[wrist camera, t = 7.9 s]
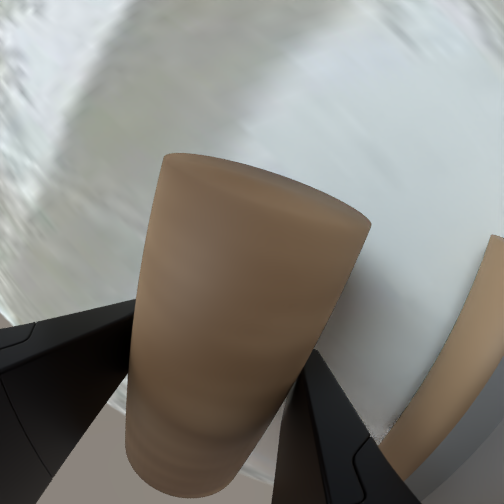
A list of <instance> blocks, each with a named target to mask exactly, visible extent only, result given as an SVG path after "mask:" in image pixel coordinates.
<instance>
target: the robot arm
mask: <svg viewBox="0 0 504 504" xmlns="http://www.w3.org/2000/svg"><path fill="white" fill-rule="evenodd" d="M135 303H136V299H133V300H129V301H125V302H121V303H116V304H112V305H108V306H104V307H99V308H95V309H91V310H86V311H82V312H78V313H73V314H69V315H65V316H60V317H56V318H51V319H47V320H42V321H38V322H37V323H35V322H33V323H29V324H24V325H19V326H14V327H9V328H3V329H0V504H36V502H37V501H38V500H39V498H40V497H41V495H42V494H43V492H44V491H45V489H46V488H47V486H48V485H49V483H50V482H51V480H52V478H53V477H54V476H55V474H56V473H57V471H58V470H59V469H60V467H61V466H62V464H63V463H64V461H65V460H66V459H67V457H68V456H69V454H70V453H71V451H72V450H73V449H74V447H75V446H76V444H77V443H78V442H79V440H80V439H81V437H82V436H83V434H84V433H85V432H86V430H87V429H88V427H89V426H90V425H91V423H92V422H93V420H94V419H95V418H96V416H97V415H98V413H99V412H100V411H101V409H102V408H103V407H104V405H105V404H106V403H107V401H108V400H109V398H110V397H111V396H112V394H113V393H114V392H115V390H116V389H117V387H118V386H119V385H120V383H121V382H122V381H123V379H124V378H125V377H126V375H127V374H128V370H129V358H130V347H131V337H132V328H133V319H134V311H135ZM271 504H422V503H421V502H420V501H419V500H418V498H417V497H416V496H415V495H414V494H413V492H412V491H411V490H410V489H409V487H408V486H407V485H406V484H405V483H404V481H403V480H402V479H401V478H400V476H399V475H398V474H397V472H396V471H395V470H394V469H393V467H392V466H391V465H390V463H389V462H388V460H387V459H386V457H385V456H384V454H383V453H382V451H381V450H380V448H379V447H378V445H377V444H376V442H375V441H374V439H373V437H370V433H369V431H368V430H367V428H366V426H365V425H364V423H363V422H362V420H361V419H360V417H359V415H358V414H357V412H356V411H355V409H354V407H353V406H352V404H351V403H350V401H349V399H348V398H347V396H346V395H345V393H344V391H343V390H342V388H341V387H340V385H339V384H338V382H337V380H336V379H335V377H334V376H333V374H332V372H331V371H330V369H329V368H328V366H327V364H326V363H325V361H324V360H323V358H322V357H321V355H320V353H319V352H318V351H317V350H315V349H313V350H312V352H311V354H310V356H309V358H308V359H307V361H306V363H305V365H304V367H303V369H302V370H301V372H300V374H299V376H298V377H297V379H296V381H295V383H294V384H293V386H292V388H291V390H290V391H289V393H288V395H287V399H286V404H285V408H284V412H283V416H282V421H281V428H280V436H279V445H278V454H277V463H276V472H275V480H274V488H273V495H272V503H271Z"/></svg>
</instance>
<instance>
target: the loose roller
mask: <svg viewBox="0 0 504 504" xmlns="http://www.w3.org/2000/svg"><path fill="white" fill-rule="evenodd" d="M370 228H371V222H370V221H369V220H368V219H367V217H365V216H364V215H363V214H362V213H360V212H359V211H357V210H356V209H354V208H352V207H351V206H349V205H347V204H346V203H344V202H342V201H340V200H338V199H336V198H334V197H332V196H330V195H328V194H326V193H324V192H322V191H319V190H317V189H315V188H312V187H310V186H308V185H305V184H303V183H300V182H298V181H295V180H292V179H290V178H287V177H284V176H281V175H278V174H275V173H272V172H269V171H266V170H263V169H260V168H256V167H253V166H249V165H246V164H242V163H238V162H234V161H230V160H225V159H221V158H216V157H210V156H204V155H197V154H188V153H172V154H167V155H165V156H164V158H163V162H162V166H161V170H160V175H159V179H158V183H157V187H156V192H155V196H154V201H153V205H152V210H151V215H150V220H149V225H148V230H147V235H146V240H145V246H144V252H143V257H142V263H141V269H140V276H139V282H138V289H137V296H136V303H135V311H134V319H133V328H132V337H131V347H130V358H129V370H128V384H127V402H126V431H125V448H126V453H127V457H128V460H129V462H130V464H131V466H132V468H133V469H134V470H135V472H136V473H137V474H138V475H139V477H140V478H141V479H142V480H144V481H145V482H146V483H147V484H149V485H150V486H152V487H153V488H155V489H156V490H159V491H160V492H163V493H165V494H168V495H171V496H175V497H181V498H201V497H205V496H209V495H212V494H215V493H217V492H219V491H221V490H222V489H224V488H225V487H226V486H227V485H229V483H230V482H231V481H232V480H233V479H234V477H235V476H236V474H237V473H238V472H239V470H240V469H241V467H242V466H243V464H244V463H245V461H246V460H247V458H248V457H249V455H250V454H251V452H252V451H253V449H254V448H255V446H256V445H257V443H258V442H259V440H260V439H261V437H262V436H263V434H264V432H265V431H266V429H267V428H268V426H269V424H270V423H271V421H272V420H273V418H274V416H275V415H276V413H277V411H278V410H279V408H280V407H281V405H282V403H283V402H284V400H285V398H286V396H287V395H288V393H289V391H290V390H291V388H292V386H293V384H294V383H295V381H296V379H297V377H298V376H299V374H300V372H301V370H302V369H303V367H304V365H305V363H306V361H307V359H308V358H309V356H310V354H311V352H312V350H313V348H314V346H315V345H316V343H317V341H318V339H319V337H320V335H321V333H322V331H323V329H324V327H325V325H326V323H327V321H328V319H329V317H330V315H331V313H332V311H333V309H334V307H335V305H336V303H337V301H338V299H339V297H340V295H341V293H342V291H343V289H344V287H345V284H346V282H347V280H348V278H349V276H350V274H351V271H352V269H353V267H354V265H355V263H356V260H357V258H358V256H359V254H360V251H361V249H362V247H363V244H364V242H365V240H366V237H367V235H368V233H369V230H370Z"/></svg>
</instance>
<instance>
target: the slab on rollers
mask: <svg viewBox="0 0 504 504" xmlns="http://www.w3.org/2000/svg"><path fill="white" fill-rule="evenodd" d="M378 447H379V448H380V450H381V451H382V453H383V454H384V456H385V457H386V459H387V460H388V462H389V463H390V465H391V466H392V467H393V469H394V470H395V471H396V472H397V474H398V475H399V476H400V478H401V479H402V480H403V481H404V483H405V484H406V485H407V486H408V487H409V489H410V490H411V491H412V492H413V494H414V495H415V496H416V497H417V498H418V500H419V501H420V502H421V503H422V504H504V238H502V237H499V236H496V235H491V237H490V240H489V243H488V246H487V249H486V251H485V254H484V257H483V260H482V262H481V265H480V268H479V270H478V273H477V276H476V278H475V281H474V283H473V285H472V288H471V290H470V293H469V295H468V297H467V299H466V302H465V304H464V306H463V308H462V311H461V313H460V315H459V317H458V319H457V321H456V323H455V325H454V327H453V329H452V331H451V333H450V335H449V337H448V339H447V341H446V343H445V345H444V347H443V348H442V350H441V352H440V354H439V356H438V357H437V359H436V361H435V363H434V365H433V366H432V368H431V370H430V371H429V373H428V375H427V376H426V378H425V380H424V381H423V383H422V384H421V386H420V388H419V389H418V391H417V392H416V394H415V395H414V397H413V399H412V400H411V402H410V403H409V405H408V406H407V407H406V409H405V410H404V412H403V413H402V415H401V416H400V418H399V419H398V420H397V422H396V423H395V424H394V426H393V427H392V429H391V430H390V431H389V433H388V434H387V435H386V437H385V438H384V439H383V440H382V442H381V443H380V444H379V446H378Z"/></svg>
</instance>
